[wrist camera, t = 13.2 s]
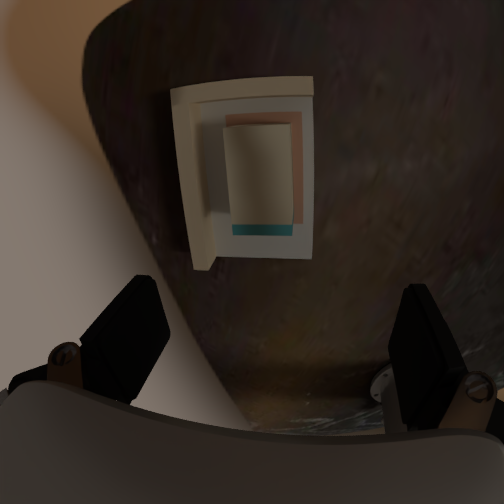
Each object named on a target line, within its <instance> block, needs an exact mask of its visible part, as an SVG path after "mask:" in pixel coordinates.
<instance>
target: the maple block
mask: <svg viewBox="0 0 504 504" xmlns="http://www.w3.org/2000/svg"><path fill="white" fill-rule="evenodd" d="M223 139H224V150H225V161H226V171H227V182H228V192H229V202H230V212H231V222H232V232H233V235H259V236H292V232H293V221H294V185H293V153H292V129H291V123H262V124H245V125H235V126H230V127H226V128H223Z"/></svg>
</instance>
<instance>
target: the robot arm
mask: <svg viewBox="0 0 504 504" xmlns="http://www.w3.org/2000/svg"><path fill="white" fill-rule="evenodd" d="M169 338H170V329H169V325H168V322H167V319H166V316H165V312H164V309H163V306H162V302H161V299H160V295H159V292H158V288H157V285H156V282H155V280H153V279H152V277H151V276H149V275H136V276H134V278H133V279H132V280H131V281H130V282H129V283H128V284H127V285H126V286H125V287H124V288H123V290H122V291H121V292H120V293H119V294H118V295H117V296H116V297H115V298H114V299H113V301H112V302H111V303H110V304H109V305H108V306H107V307H106V308H105V309H104V311H103V312H102V313H101V314H100V315H99V317H97V319H96V320H95V321H94V322H93V323H92V324H91V326H90V327H89V328H88V329H87V330H86V332H85V333H84V334H83V335H82V336H81V337H80V341H81V343H82V345H81V346H80V347H79V346H78V345H77V344H76V343H74V342H65V343H62V344H60V345H58V346H57V347H55V348H54V349H53V350H52V351H51V353H50V355H49V357H48V364H46V365H42V366H39V367H37V368H34V369H31V370H28V371H26V372H22V373H20V374H18V375H16V376H14V377H13V378H12V380H11V382H10V384H9V388H8V390H7V389H6V388H5V389H4V390H2V391H1V392H0V504H504V402H503V401H501V400H499V399H498V398H497V386H496V383H495V381H494V380H493V379H492V378H491V376H489V375H488V374H486V373H485V372H482V371H471V372H468V370H467V368H466V365H465V363H464V360H463V358H462V356H461V353H460V351H459V349H458V347H457V344H456V342H455V340H454V338H453V336H452V334H451V331H450V329H449V327H448V325H447V323H446V322H445V320H444V319H443V317H442V315H441V313H440V311H439V309H438V307H437V305H436V303H435V301H434V299H433V297H432V295H431V294H430V292H429V290H428V288H427V286H426V285H425V284H410V285H409V286H408V288H405V289H404V291H403V295H402V299H401V303H400V306H399V310H398V314H397V317H396V321H395V324H394V327H393V331H392V334H391V337H390V340H389V345H388V351H389V356H390V360H391V363H390V364H388V365H387V366H385V367H384V368H382V369H381V370H380V371H379V372H378V373H377V374H376V375H375V376H374V378H373V379H372V381H371V384H370V392H371V396H372V397H373V399H375V400H376V401H378V402H381V403H382V411H383V416H382V418H381V422H382V424H384V428H385V434H376V435H358V436H357V435H356V436H303V435H285V434H272V433H262V432H253V431H245V430H238V429H231V428H224V427H218V426H213V425H207V424H202V423H197V422H192V421H187V420H183V419H179V418H174V417H170V416H166V415H163V414H159V413H155V412H151V411H148V410H144V409H141V408H138V407H134V406H131V405H130V403H131V401H132V400H134V399H136V397H137V396H138V394H139V392H140V390H141V389H142V387H143V385H144V383H145V381H146V380H147V377H148V376H149V374H150V372H151V371H152V369H153V367H154V365H155V363H156V362H157V360H158V358H159V356H160V355H161V353H162V351H163V349H164V347H165V345H166V344H167V342H168V340H169ZM116 400H117V401H116Z"/></svg>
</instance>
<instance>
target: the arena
mask: <svg viewBox="0 0 504 504" xmlns="http://www.w3.org/2000/svg"><path fill="white" fill-rule="evenodd" d="M170 93H171V105H172V116H173V126H174V136H175V145H176V154H177V162H178V170H179V178H180V185H181V193H182V200H183V207H184V213H185V220H186V226H187V232H188V238H189V244H190V250H191V256H192V261H193V267H194V270H209V269H210V267H211V265H212V263H213V262H214V260H215V258H216V256H223V257H256V258H291V259H312V242H313V208H314V136H313V104H312V97H313V95H314V91H313V76H283V77H260V78H246V79H235V80H226V81H217V82H210V83H203V84H196V85H190V86H184V87H179V88H174V89H170ZM262 123H291V129H292V153H293V185H294V221H293V232H292V236H259V235H233V232H232V222H231V212H230V202H229V192H228V182H227V171H226V161H225V150H224V139H223V128H226V127H230V126H235V125H245V124H262Z"/></svg>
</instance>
